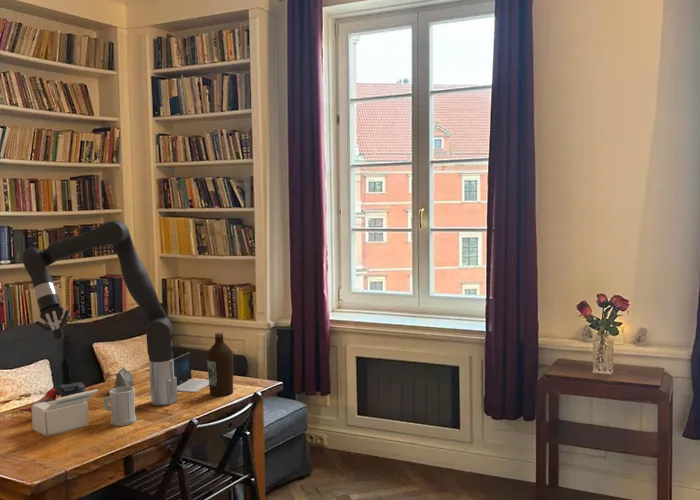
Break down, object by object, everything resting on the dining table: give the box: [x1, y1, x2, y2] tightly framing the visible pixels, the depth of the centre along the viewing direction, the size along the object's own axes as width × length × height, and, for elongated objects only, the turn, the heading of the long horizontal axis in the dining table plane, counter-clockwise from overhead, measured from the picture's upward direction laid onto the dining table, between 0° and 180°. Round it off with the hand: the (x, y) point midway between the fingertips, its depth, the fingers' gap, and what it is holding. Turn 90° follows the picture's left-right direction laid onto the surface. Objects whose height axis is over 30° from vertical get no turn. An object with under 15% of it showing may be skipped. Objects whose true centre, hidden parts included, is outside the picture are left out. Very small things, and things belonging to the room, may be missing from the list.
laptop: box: [173, 351, 209, 393], centre depth 287 cm, size 18×12×13 cm
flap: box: [47, 388, 99, 410], centre depth 229 cm, size 1×14×10 cm
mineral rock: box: [113, 367, 135, 389], centre depth 285 cm, size 13×11×10 cm
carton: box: [30, 399, 90, 438], centre depth 237 cm, size 12×15×9 cm
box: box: [59, 381, 86, 397], centre depth 255 cm, size 8×6×11 cm
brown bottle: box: [206, 332, 234, 397], centre depth 274 cm, size 11×11×25 cm
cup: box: [103, 386, 137, 427], centre depth 240 cm, size 10×9×12 cm
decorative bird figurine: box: [18, 387, 59, 413], centre depth 247 cm, size 3×18×10 cm, turn 156°
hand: (59, 339), depth 249 cm, fingers closed
